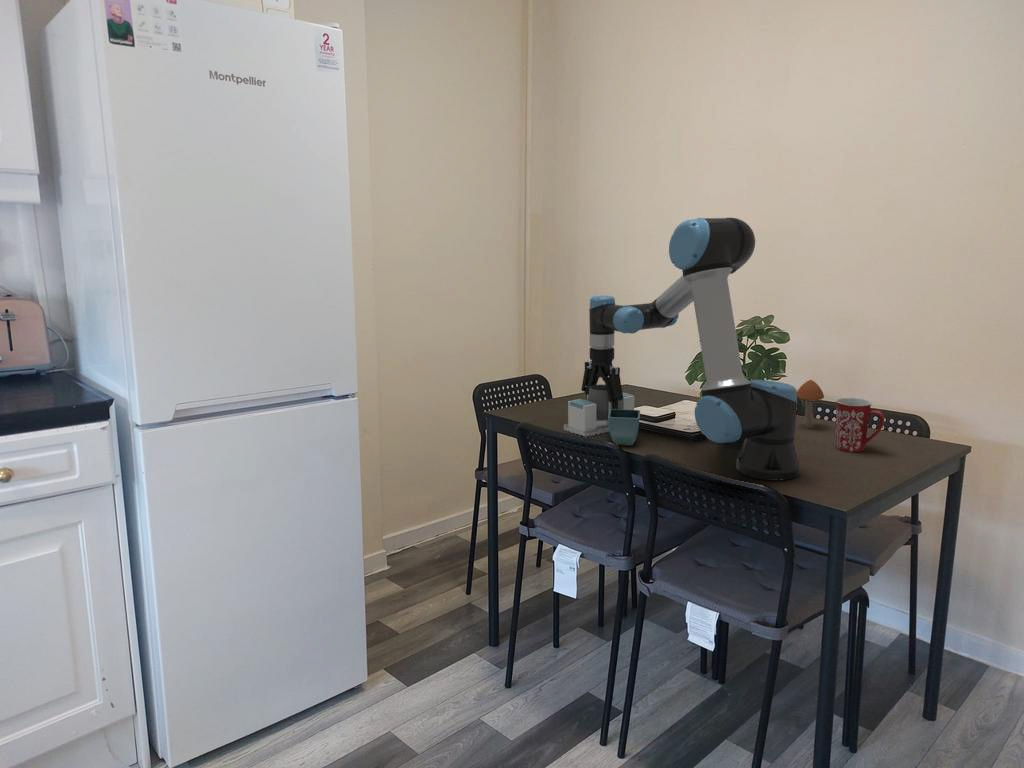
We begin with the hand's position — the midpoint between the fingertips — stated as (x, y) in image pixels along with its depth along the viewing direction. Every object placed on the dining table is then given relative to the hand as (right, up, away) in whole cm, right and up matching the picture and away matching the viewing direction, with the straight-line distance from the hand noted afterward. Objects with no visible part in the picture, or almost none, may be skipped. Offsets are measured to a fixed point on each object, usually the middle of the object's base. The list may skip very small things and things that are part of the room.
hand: (601, 417), depth 221 cm
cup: (0, 0, 0) cm, 0 cm away
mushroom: (+62, -3, -5) cm, 62 cm away
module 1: (-6, -3, -4) cm, 8 cm away
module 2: (+6, -1, +5) cm, 8 cm away
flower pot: (+5, -7, -15) cm, 17 cm away
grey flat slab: (0, -3, +1) cm, 3 cm away
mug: (+67, -8, -26) cm, 72 cm away
